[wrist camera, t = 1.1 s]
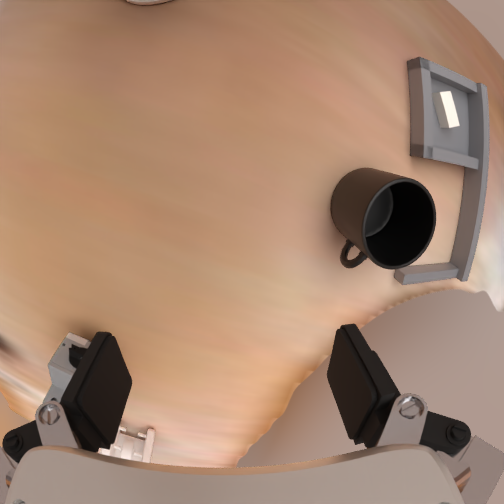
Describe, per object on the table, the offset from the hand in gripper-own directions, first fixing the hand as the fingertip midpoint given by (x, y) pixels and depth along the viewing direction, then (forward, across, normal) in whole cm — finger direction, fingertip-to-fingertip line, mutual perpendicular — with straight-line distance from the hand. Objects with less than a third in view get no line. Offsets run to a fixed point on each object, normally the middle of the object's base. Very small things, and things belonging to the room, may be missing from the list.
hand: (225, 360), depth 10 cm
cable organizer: (+23, +26, +49) cm, 60 cm away
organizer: (+23, -30, -6) cm, 38 cm away
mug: (+23, -16, 0) cm, 28 cm away
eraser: (+22, -29, -16) cm, 40 cm away
